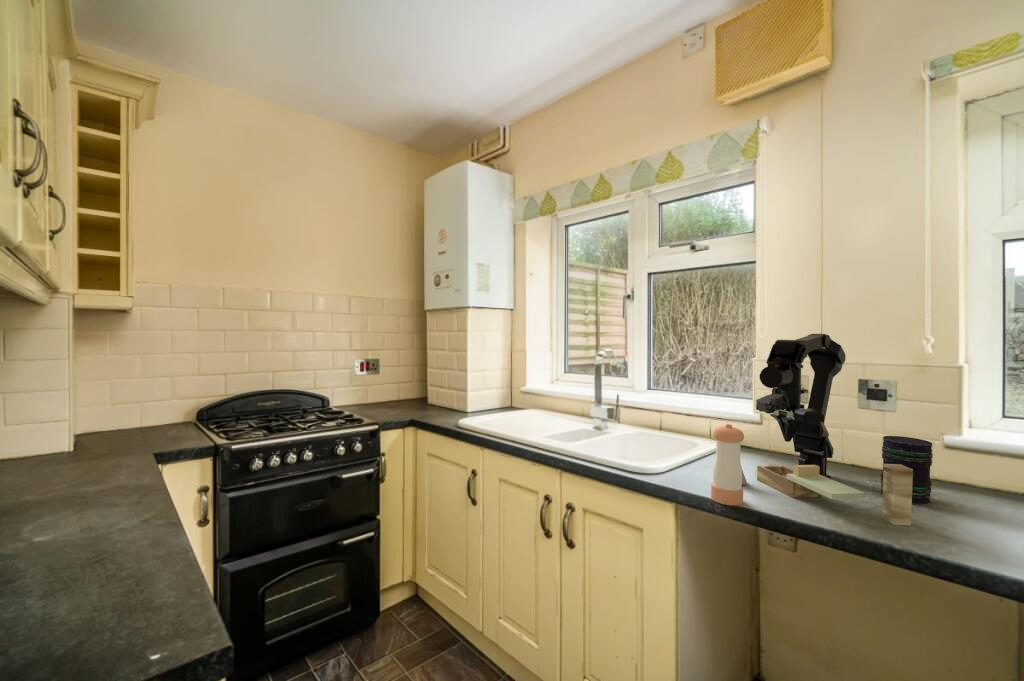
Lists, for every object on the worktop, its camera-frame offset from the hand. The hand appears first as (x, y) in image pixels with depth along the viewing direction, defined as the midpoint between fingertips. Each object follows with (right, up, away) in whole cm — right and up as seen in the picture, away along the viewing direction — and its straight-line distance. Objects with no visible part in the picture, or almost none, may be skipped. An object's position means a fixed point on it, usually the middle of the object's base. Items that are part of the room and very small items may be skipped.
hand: (787, 441), depth 125 cm
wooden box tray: (-1, -12, -2) cm, 12 cm away
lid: (0, -8, -14) cm, 16 cm away
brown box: (+10, -13, -23) cm, 28 cm away
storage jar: (+26, -13, -8) cm, 30 cm away
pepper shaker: (-22, -12, -11) cm, 28 cm away
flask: (-14, -12, +3) cm, 19 cm away
